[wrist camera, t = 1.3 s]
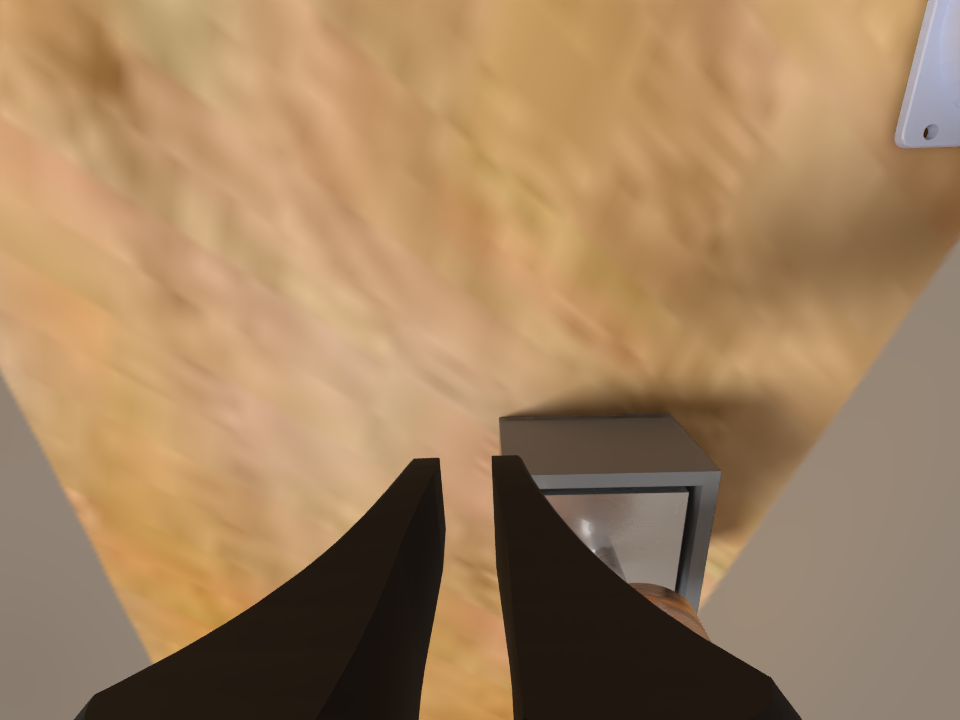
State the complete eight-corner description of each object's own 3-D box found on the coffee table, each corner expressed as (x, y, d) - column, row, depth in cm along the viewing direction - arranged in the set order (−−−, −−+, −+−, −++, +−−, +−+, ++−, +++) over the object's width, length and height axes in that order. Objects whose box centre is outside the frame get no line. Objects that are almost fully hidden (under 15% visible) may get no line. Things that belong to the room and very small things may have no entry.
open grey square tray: (668, 411, 21) (721, 471, 16) (651, 547, 24) (693, 633, 19) (498, 415, 21) (502, 476, 16) (501, 550, 24) (505, 636, 19)
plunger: (682, 483, 17) (760, 592, 12) (665, 600, 19) (728, 736, 14) (528, 486, 17) (545, 596, 12) (527, 603, 19) (542, 737, 14)
